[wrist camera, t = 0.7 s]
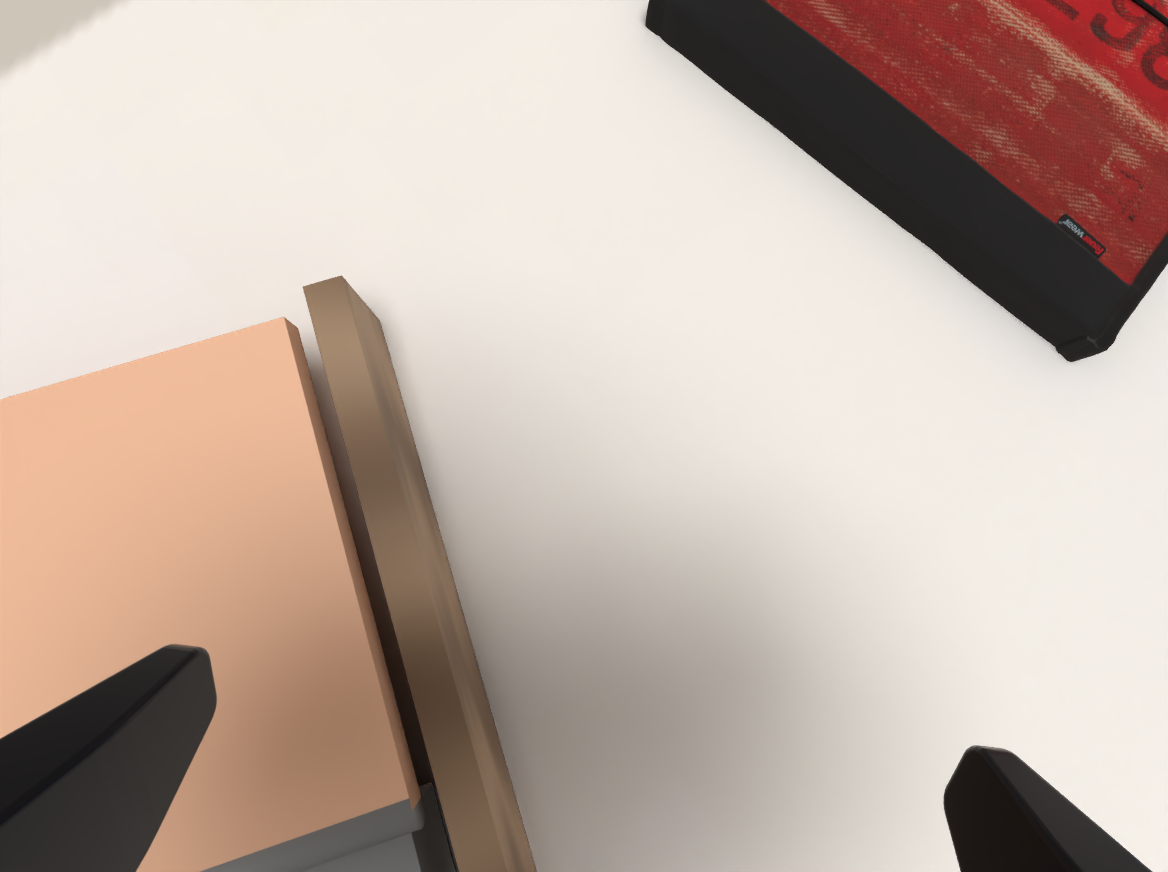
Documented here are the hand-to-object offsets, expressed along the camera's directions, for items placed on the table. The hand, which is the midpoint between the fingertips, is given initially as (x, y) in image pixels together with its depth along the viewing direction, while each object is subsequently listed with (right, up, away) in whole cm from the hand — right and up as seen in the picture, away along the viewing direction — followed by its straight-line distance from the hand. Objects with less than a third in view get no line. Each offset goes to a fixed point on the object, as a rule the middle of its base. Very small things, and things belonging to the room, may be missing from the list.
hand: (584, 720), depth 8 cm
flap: (-12, -5, +13) cm, 19 cm away
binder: (+15, +19, +19) cm, 31 cm away
